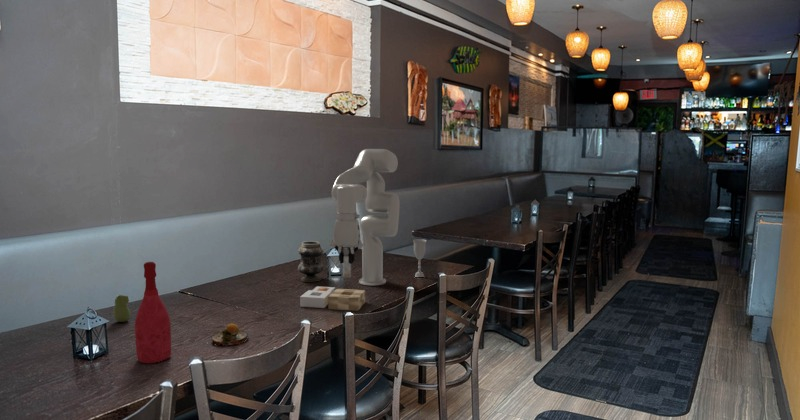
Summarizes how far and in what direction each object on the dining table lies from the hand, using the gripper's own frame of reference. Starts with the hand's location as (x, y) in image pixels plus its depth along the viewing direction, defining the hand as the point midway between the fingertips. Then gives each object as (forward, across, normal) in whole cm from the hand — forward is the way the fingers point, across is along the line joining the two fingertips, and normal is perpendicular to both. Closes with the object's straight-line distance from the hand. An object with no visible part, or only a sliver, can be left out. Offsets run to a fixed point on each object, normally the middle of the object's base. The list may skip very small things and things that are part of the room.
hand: (346, 262), depth 223 cm
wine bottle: (+18, +43, +64) cm, 79 cm away
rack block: (+18, 0, 0) cm, 18 cm away
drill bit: (+6, 0, 0) cm, 6 cm away
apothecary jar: (+18, +28, -37) cm, 50 cm away
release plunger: (+17, +13, -9) cm, 23 cm away
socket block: (+18, +13, -4) cm, 22 cm away
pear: (+18, +75, +35) cm, 85 cm away
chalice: (+18, -22, -52) cm, 59 cm away
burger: (+19, +28, +45) cm, 56 cm away
